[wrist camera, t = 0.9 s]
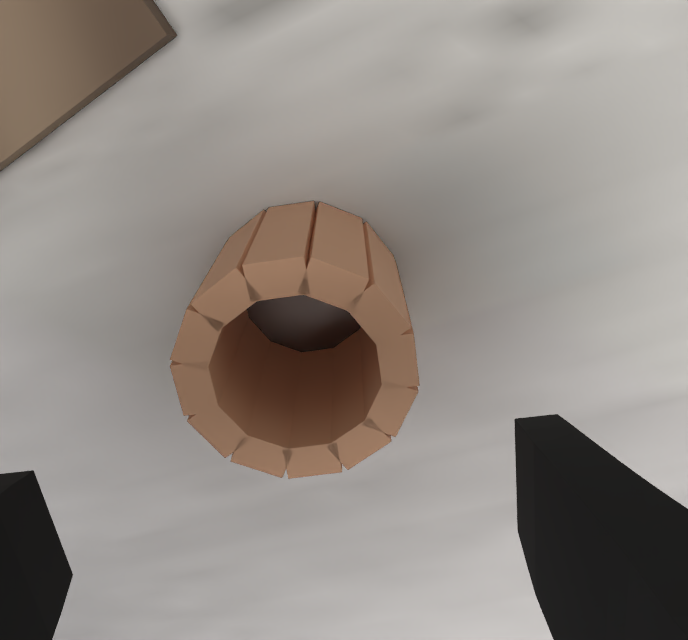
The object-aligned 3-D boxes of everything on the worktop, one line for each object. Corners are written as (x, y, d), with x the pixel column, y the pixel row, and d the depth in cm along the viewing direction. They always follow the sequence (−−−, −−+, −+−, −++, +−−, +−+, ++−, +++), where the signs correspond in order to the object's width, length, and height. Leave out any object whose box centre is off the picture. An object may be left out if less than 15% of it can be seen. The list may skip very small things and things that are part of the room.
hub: (236, 385, 20) (204, 488, 15) (196, 217, 18) (145, 278, 13) (407, 362, 19) (428, 461, 15) (387, 190, 17) (403, 242, 13)
